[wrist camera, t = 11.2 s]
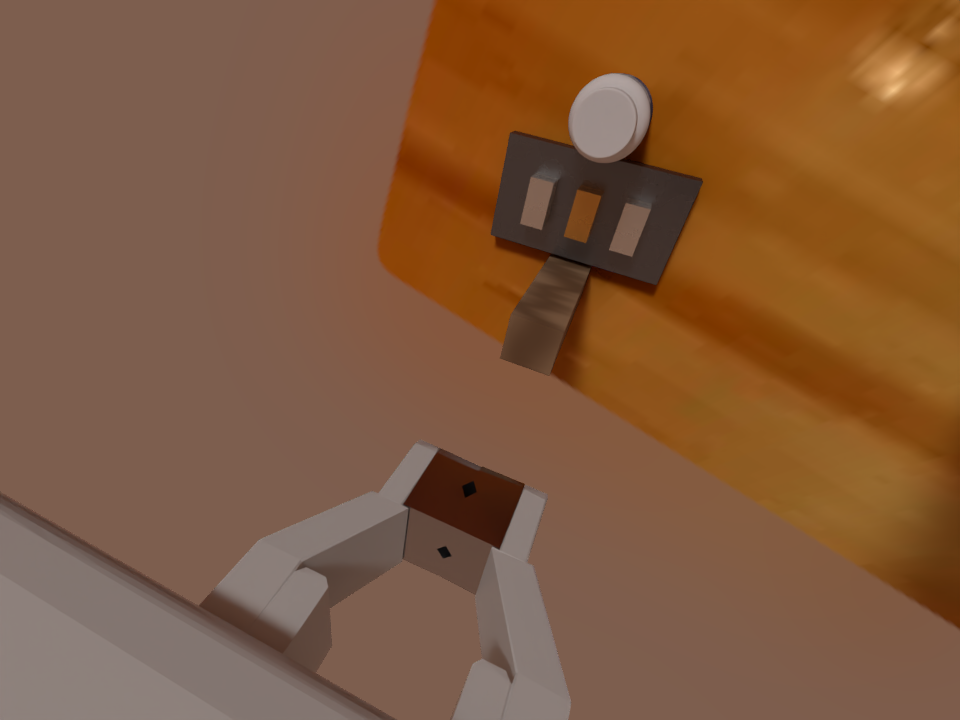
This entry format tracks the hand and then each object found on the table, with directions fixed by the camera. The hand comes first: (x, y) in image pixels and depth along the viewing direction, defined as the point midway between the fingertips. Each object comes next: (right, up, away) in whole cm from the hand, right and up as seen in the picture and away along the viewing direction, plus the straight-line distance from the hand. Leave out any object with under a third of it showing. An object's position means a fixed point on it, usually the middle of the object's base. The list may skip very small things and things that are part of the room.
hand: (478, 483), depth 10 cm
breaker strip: (+10, +16, +30) cm, 36 cm away
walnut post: (+8, +11, +34) cm, 37 cm away
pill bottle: (+11, +22, +26) cm, 36 cm away
